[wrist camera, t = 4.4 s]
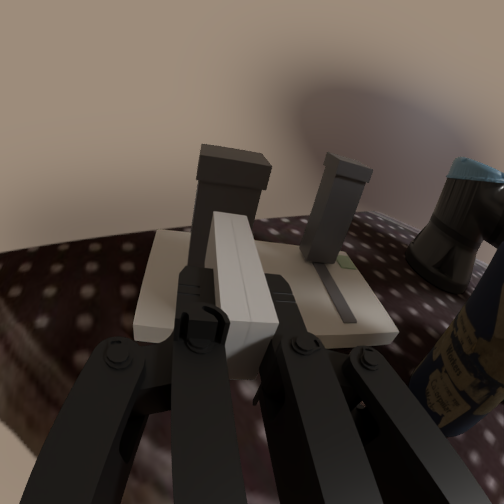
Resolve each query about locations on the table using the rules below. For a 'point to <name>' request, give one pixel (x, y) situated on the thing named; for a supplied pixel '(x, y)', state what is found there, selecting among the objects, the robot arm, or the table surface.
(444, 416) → the canister
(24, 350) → the table surface
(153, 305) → the switch board
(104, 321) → the table surface
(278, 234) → the table surface
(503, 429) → the table surface
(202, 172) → the switch
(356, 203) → the switch
